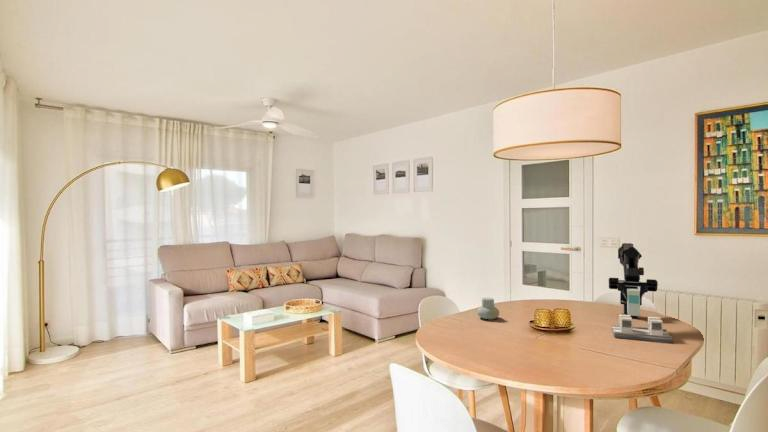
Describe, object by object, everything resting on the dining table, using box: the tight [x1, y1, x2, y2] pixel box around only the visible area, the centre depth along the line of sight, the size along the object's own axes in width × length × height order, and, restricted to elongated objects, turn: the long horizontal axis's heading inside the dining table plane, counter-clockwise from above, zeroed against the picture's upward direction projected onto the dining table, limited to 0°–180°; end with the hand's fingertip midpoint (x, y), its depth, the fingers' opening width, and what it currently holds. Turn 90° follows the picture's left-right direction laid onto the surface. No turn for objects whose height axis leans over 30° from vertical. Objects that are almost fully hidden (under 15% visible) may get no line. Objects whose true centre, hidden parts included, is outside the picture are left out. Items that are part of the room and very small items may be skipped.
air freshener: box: [476, 297, 500, 321], centre depth 201 cm, size 11×8×10 cm
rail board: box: [611, 313, 674, 344], centre depth 167 cm, size 14×20×8 cm
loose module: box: [627, 288, 641, 317], centre depth 177 cm, size 6×4×11 cm
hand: (633, 300), depth 175 cm, fingers closed on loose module, 4 cm apart
